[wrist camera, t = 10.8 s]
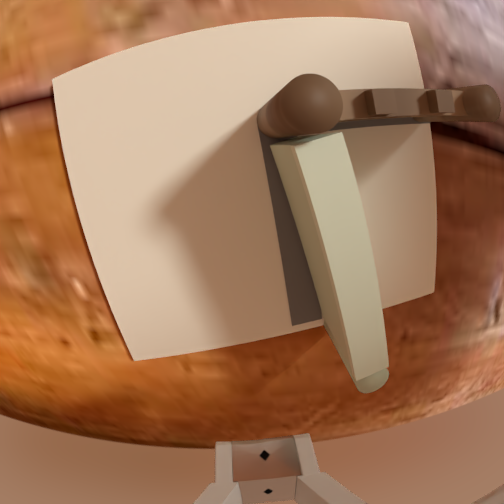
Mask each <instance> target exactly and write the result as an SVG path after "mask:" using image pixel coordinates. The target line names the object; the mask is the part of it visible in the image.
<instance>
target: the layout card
mask: <svg viewBox="0 0 504 504" xmlns="http://www.w3.org/2000/svg"><path fill="white" fill-rule="evenodd" d="M302 74H318V75H321V76H323V77H325V78H327V79H329V80H330V81H331V82H332V83H333V84H334V85H335V86H336V87H337V88H338V90H351V89H377V88H415V89H424V85H423V80H422V75H421V70H420V66H419V62H418V57H417V53H416V49H415V45H414V41H413V38H412V34H411V31H410V27H409V24H408V22H401V21H392V20H382V19H369V18H350V17H304V18H285V19H272V20H262V21H253V22H245V23H237V24H231V25H224V26H218V27H213V28H207V29H202V30H197V31H193V32H188V33H184V34H179V35H175V36H171V37H167V38H163V39H160V40H156V41H152V42H149V43H145V44H142V45H139V46H136V47H132V48H129V49H126V50H123V51H120V52H117V53H115V54H112V55H109V56H106V57H103V58H101V59H98V60H96V61H93V62H91V63H88V64H86V65H83V66H81V67H78V68H76V69H74V70H71V71H69V72H67V73H65V74H62V75H60V76H58V77H56V78H54V79H52V83H53V91H54V99H55V106H56V113H57V120H58V126H59V131H60V137H61V142H62V147H63V152H64V157H65V162H66V167H67V171H68V175H69V180H70V184H71V188H72V192H73V196H74V199H75V203H76V207H77V210H78V214H79V217H80V221H81V224H82V228H83V231H84V234H85V237H86V241H87V244H88V247H89V250H90V253H91V256H92V259H93V262H94V265H95V268H96V270H97V273H98V276H99V279H100V281H101V284H102V287H103V289H104V292H105V295H106V297H107V300H108V302H109V305H110V307H111V310H112V312H113V315H114V317H115V319H116V322H117V324H118V326H119V329H120V331H121V333H122V336H123V338H124V340H125V342H126V345H127V347H128V349H129V351H130V353H131V355H132V357H133V360H134V361H139V360H146V359H154V358H161V357H168V356H175V355H181V354H187V353H193V352H199V351H205V350H211V349H217V348H222V347H227V346H233V345H238V344H243V343H248V342H253V341H258V340H262V339H267V338H272V337H276V336H281V335H285V334H289V333H294V332H298V331H302V330H306V329H310V328H314V327H318V326H322V325H324V318H323V314H322V311H321V307H320V304H319V300H318V297H317V293H316V290H315V286H314V283H313V279H312V276H311V272H310V269H309V266H308V262H307V259H306V256H305V252H304V249H303V246H302V242H301V239H300V236H299V233H298V230H297V226H296V223H295V220H294V217H293V214H292V211H291V207H290V204H289V201H288V198H287V195H286V192H285V189H284V186H283V183H282V180H281V177H280V174H279V171H278V168H277V165H276V162H275V159H274V156H273V154H272V151H271V148H270V145H273V144H276V143H279V142H282V141H285V140H288V139H291V138H295V137H298V136H291V137H283V138H271V137H268V136H266V135H265V134H263V133H262V132H261V131H260V129H259V127H258V125H257V114H258V112H259V110H260V109H261V108H262V107H263V106H264V105H265V104H266V103H267V102H268V101H269V100H270V99H271V98H272V97H273V96H274V95H276V94H277V93H278V92H279V91H280V90H281V89H282V88H283V87H284V86H285V85H287V84H288V83H289V82H290V81H291V80H292V79H294V78H295V77H297V76H299V75H302ZM430 123H431V122H418V121H416V120H414V119H413V118H412V117H406V118H386V119H371V120H358V121H347V122H338V123H337V124H336V125H335V126H334V127H333V128H332V129H330V130H328V131H326V132H323V133H319V134H329V133H336V132H342V133H343V136H344V140H345V143H346V146H347V150H348V153H349V157H350V160H351V164H352V167H353V171H354V175H355V178H356V182H357V186H358V190H359V194H360V198H361V202H362V206H363V210H364V215H365V219H366V223H367V228H368V233H369V237H370V242H371V247H372V252H373V257H374V262H375V268H376V273H377V279H378V285H379V291H380V297H381V304H382V309H384V308H387V307H390V306H394V305H397V304H400V303H403V302H406V301H410V300H413V299H416V298H419V297H422V296H425V295H428V294H431V293H434V288H435V274H436V253H437V201H436V180H435V165H434V154H433V144H432V136H431V128H430ZM309 135H317V134H309ZM300 136H307V135H300Z"/></svg>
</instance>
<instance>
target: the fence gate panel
mask: <svg viewBox="0 0 504 504" xmlns="http://www.w3.org/2000/svg"><path fill="white" fill-rule="evenodd" d="M270 148H271V151H272V154H273V156H274V159H275V162H276V165H277V168H278V171H279V174H280V177H281V180H282V183H283V186H284V189H285V192H286V195H287V198H288V201H289V204H290V207H291V211H292V214H293V217H294V220H295V223H296V226H297V230H298V233H299V236H300V239H301V242H302V246H303V249H304V252H305V256H306V259H307V262H308V266H309V269H310V272H311V276H312V279H313V283H314V286H315V290H316V293H317V297H318V300H319V304H320V307H321V311H322V314H323V318H324V327H325V329H326V331H327V333H328V335H329V336H330V338H331V340H332V342H333V344H334V346H335V348H336V349H337V351H338V353H339V355H340V357H341V359H342V361H343V363H344V364H345V366H346V368H347V370H348V372H349V374H350V376H351V378H352V380H353V382H354V383H355V385H356V387H357V389H358V391H360V392H361V393H371V392H374V391H376V390H378V389H379V388H381V387H382V386H383V385H384V384H385V383H386V381H387V380H388V377H389V371H388V369H387V367H389V361H388V351H387V342H386V333H385V325H384V318H383V311H382V304H381V297H380V291H379V285H378V279H377V273H376V268H375V262H374V257H373V252H372V247H371V242H370V237H369V233H368V228H367V223H366V219H365V215H364V210H363V206H362V202H361V198H360V194H359V190H358V186H357V182H356V178H355V175H354V171H353V167H352V164H351V160H350V157H349V153H348V150H347V146H346V143H345V140H344V136H343V133H342V132H336V133H329V134H317V135H307V136H298V137H295V138H291V139H288V140H285V141H282V142H279V143H276V144H273V145H270Z"/></svg>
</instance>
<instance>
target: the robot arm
mask: <svg viewBox="0 0 504 504" xmlns="http://www.w3.org/2000/svg"><path fill="white" fill-rule="evenodd" d="M293 499H295V501H296V502H297V503H298V504H367V503H366V502H364V501H363V500H361V499H360V498H359V497H357V496H356V495H354V494H353V493H352V492H351V491H349V490H348V489H346V488H345V487H344V486H342V485H341V484H340V483H338V482H337V481H336V480H335V479H333V478H332V477H331V476H329V475H328V474H327V473H325V472H320V471H319V467H318V463H317V459H316V456H315V452H314V448H313V444H312V440H311V437H310V435H309V434H308V433H305V434H299V435H289V436H282V437H275V438H266V439H260V440H246V441H222V442H216V445H215V483H210V484H209V485H208V486H207V487H206V489H205V490H204V491H203V492H202V493H201V495H200V496H199V497H198V498H197V499H196V501H195V502H194V503H193V504H253V503H254V504H255V503H264V502H274V501H285V500H293ZM471 504H504V484H503V485H501V486H499V487H498V488H496V489H495V490H493V491H492V492H490V493H488V494H487V495H485V496H484V497H482V498H480V499H478V500H477V501H475V502H473V503H471Z"/></svg>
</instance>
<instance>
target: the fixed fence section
mask: <svg viewBox="0 0 504 504" xmlns="http://www.w3.org/2000/svg"><path fill="white" fill-rule="evenodd" d="M500 110H501V108H500V101H499V98H498V95H497V93H496V92H495V90H494V89H493V88H492V87H491V86H489V85H477V86H468V87H460V88H452V89H445V90H440V89H415V88H377V89H351V90H338V88H337V87H336V86H335V85H334V84H333V83H332V82H331V81H330V80H329V79H327V78H325V77H323V76H321V75H318V74H302V75H299V76H297V77H295V78H294V79H292V80H291V81H290V82H289V83H288V84H287V85H285V86H284V87H283V88H282V89H281V90H280V91H279V92H278V93H277V94H276V95H274V96H273V97H272V98H271V99H270V100H269V101H268V102H267V103H266V104H265V105H264V106H263V107H262V108H261V109H260V110H259V112H258V114H257V125H258V127H259V129H260V131H261V132H262V133H263V134H265V135H266V136H268V137H271V138H283V137H291V136H300V135H309V134H319V133H323V132H326V131H328V130H330V129H332V128H333V127H334V126H335V125H336V124H337V123H338V122H347V121H358V120H371V119H386V118H406V117H412V118H413V119H414V120H416V121H418V122H443V121H470V122H495V121H496V120H497V119H498V118H499V116H500Z"/></svg>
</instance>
